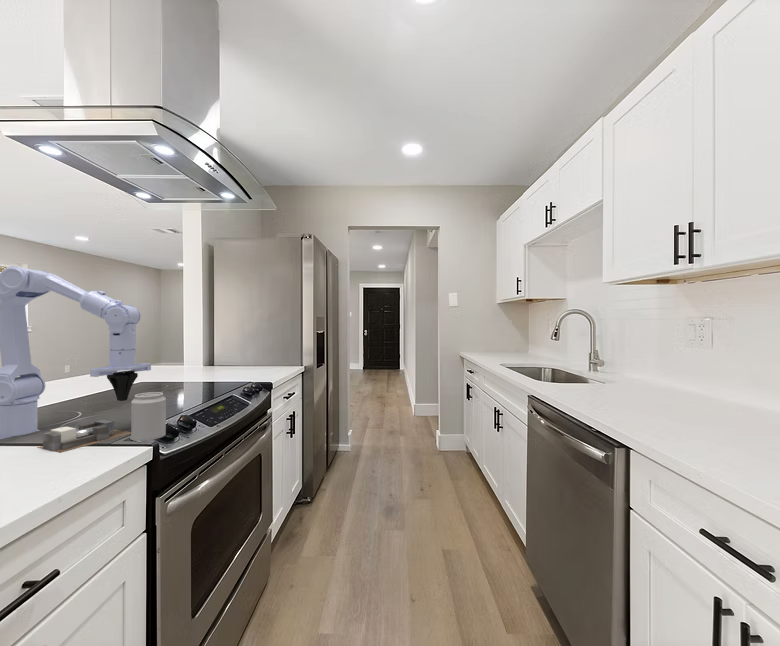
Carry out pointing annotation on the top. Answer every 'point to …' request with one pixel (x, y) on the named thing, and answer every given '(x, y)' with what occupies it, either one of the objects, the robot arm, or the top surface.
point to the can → (148, 416)
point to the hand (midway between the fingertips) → (122, 400)
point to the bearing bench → (98, 435)
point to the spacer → (65, 433)
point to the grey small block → (97, 423)
